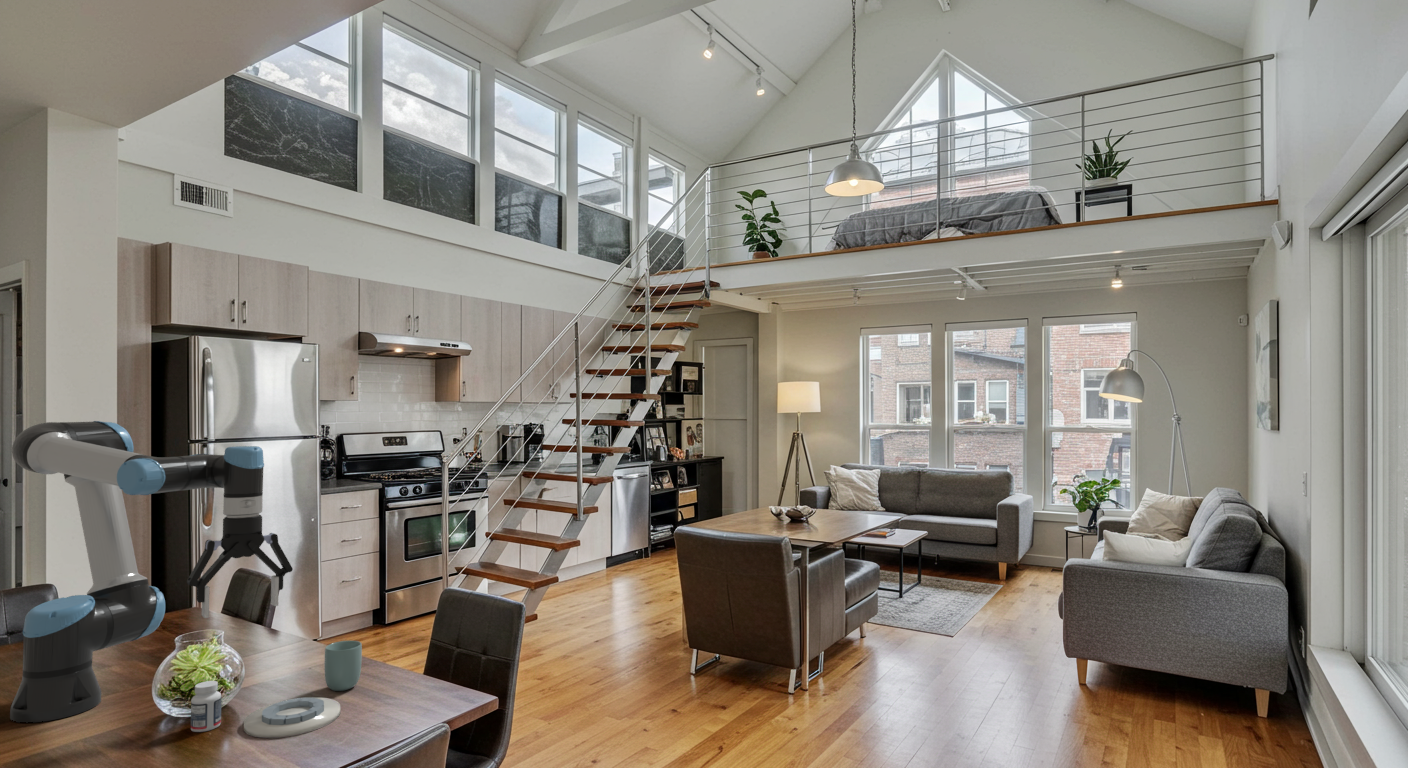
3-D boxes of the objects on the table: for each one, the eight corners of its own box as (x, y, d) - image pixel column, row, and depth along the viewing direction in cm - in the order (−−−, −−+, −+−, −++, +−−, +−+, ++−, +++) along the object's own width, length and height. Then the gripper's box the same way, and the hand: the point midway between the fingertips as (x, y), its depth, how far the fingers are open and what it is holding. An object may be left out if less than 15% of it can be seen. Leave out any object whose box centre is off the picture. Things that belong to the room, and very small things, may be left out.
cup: (346, 695, 172) (347, 651, 173) (316, 692, 174) (317, 649, 174) (367, 683, 180) (368, 641, 180) (339, 681, 182) (340, 639, 182)
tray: (240, 745, 147) (240, 732, 147) (246, 712, 163) (247, 700, 163) (341, 727, 155) (342, 715, 155) (338, 697, 171) (339, 686, 171)
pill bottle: (215, 719, 159) (216, 677, 159) (224, 726, 155) (225, 683, 156) (186, 728, 155) (187, 684, 155) (195, 735, 151) (196, 690, 152)
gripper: (180, 523, 156) (177, 625, 156) (308, 511, 174) (306, 603, 174) (172, 519, 161) (169, 618, 161) (297, 508, 179) (295, 597, 179)
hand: (240, 610), depth 167 cm, fingers open, 13 cm apart
